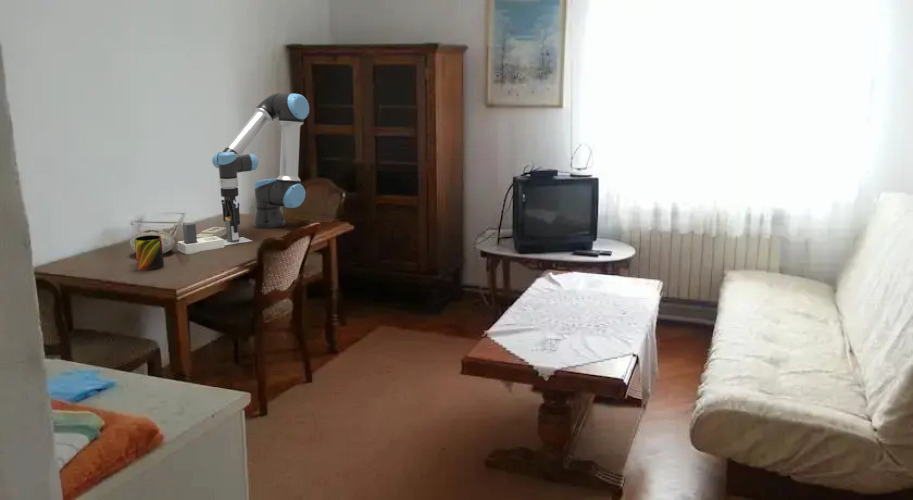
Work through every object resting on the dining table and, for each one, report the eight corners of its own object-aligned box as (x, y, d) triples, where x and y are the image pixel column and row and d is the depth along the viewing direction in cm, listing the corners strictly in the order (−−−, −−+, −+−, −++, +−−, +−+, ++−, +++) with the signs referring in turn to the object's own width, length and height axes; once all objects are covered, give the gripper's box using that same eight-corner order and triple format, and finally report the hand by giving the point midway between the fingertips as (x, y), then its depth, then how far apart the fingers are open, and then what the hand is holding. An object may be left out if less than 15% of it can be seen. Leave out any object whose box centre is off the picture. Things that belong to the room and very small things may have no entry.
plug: (235, 239, 354) (233, 216, 351) (239, 241, 351) (237, 217, 348) (226, 241, 351) (225, 217, 349) (230, 242, 348) (229, 218, 346)
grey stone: (182, 249, 339) (180, 226, 336) (164, 259, 321) (162, 236, 319) (143, 248, 340) (141, 226, 338) (123, 258, 323) (120, 235, 320)
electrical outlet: (191, 234, 350) (213, 226, 367) (191, 243, 351) (214, 235, 368) (205, 235, 348) (227, 227, 365) (205, 244, 349) (227, 235, 366)
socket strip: (215, 244, 347) (213, 216, 344) (224, 248, 340) (222, 219, 337) (178, 250, 336) (175, 221, 333) (186, 254, 329) (183, 224, 326)
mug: (138, 263, 316) (135, 234, 313) (168, 264, 313) (166, 235, 310) (123, 269, 307) (120, 239, 304) (155, 271, 304) (152, 241, 301)
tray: (242, 238, 359) (242, 237, 359) (252, 241, 352) (252, 240, 352) (213, 242, 351) (213, 241, 350) (223, 246, 343) (223, 245, 343)
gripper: (212, 185, 349) (216, 236, 355) (229, 190, 337) (233, 243, 342) (228, 184, 354) (232, 234, 360) (246, 188, 341) (249, 240, 347)
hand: (232, 238), depth 351 cm, fingers open, 4 cm apart
